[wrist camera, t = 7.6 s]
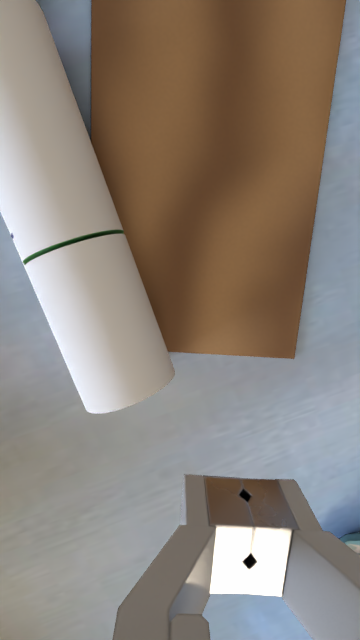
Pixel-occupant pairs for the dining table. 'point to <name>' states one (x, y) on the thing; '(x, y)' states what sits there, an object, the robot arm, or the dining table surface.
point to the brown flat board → (216, 158)
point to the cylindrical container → (71, 224)
